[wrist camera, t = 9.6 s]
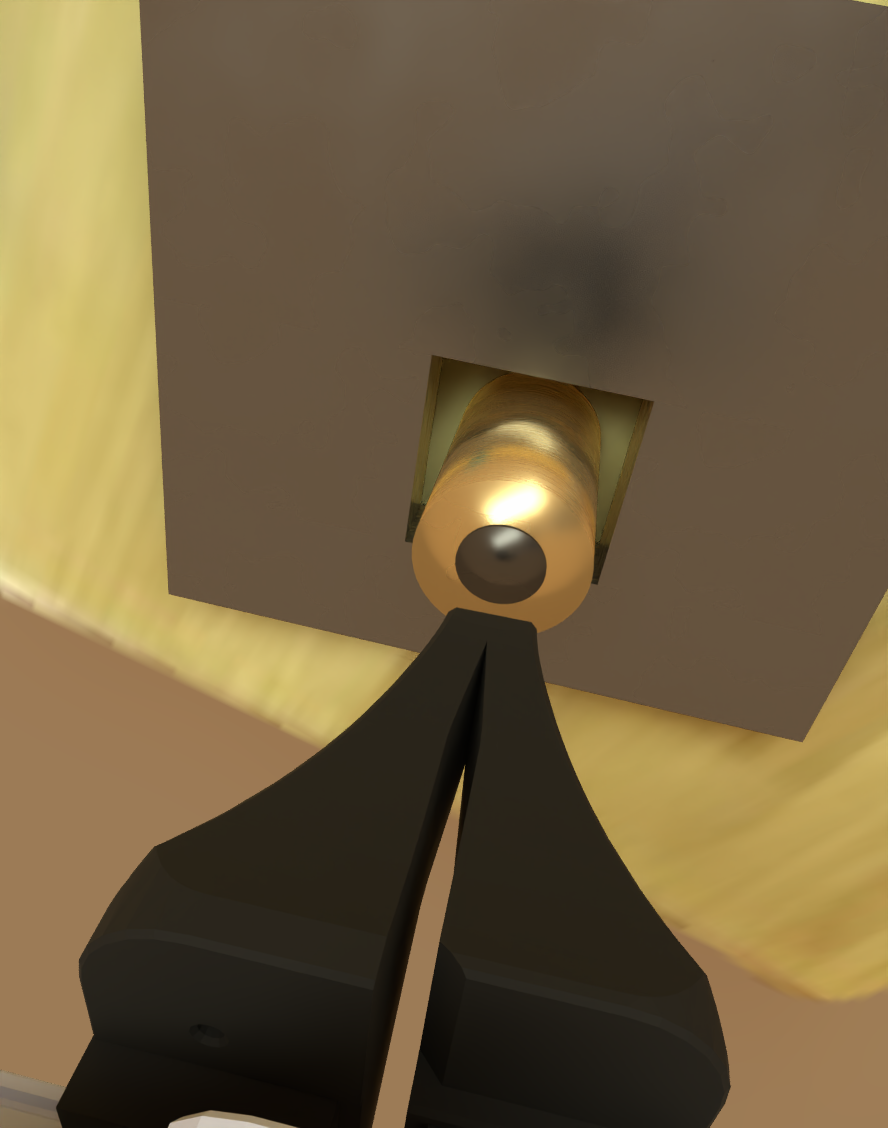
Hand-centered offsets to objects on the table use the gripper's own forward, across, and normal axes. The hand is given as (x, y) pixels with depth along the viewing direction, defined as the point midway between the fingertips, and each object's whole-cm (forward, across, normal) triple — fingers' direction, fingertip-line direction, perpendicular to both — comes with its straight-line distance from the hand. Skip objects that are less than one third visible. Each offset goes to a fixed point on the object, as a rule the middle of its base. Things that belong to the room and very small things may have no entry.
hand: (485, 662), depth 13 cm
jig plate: (+9, 0, -2) cm, 10 cm away
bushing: (+9, 0, 0) cm, 9 cm away
